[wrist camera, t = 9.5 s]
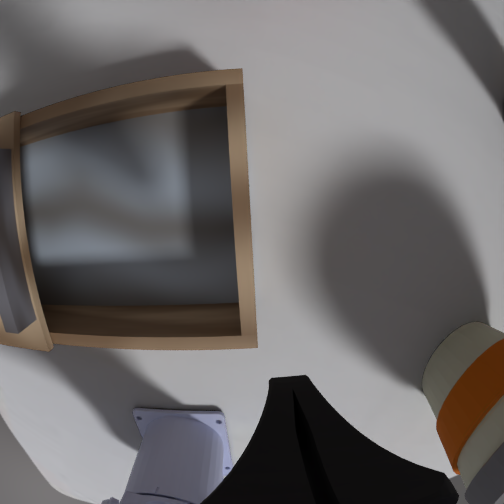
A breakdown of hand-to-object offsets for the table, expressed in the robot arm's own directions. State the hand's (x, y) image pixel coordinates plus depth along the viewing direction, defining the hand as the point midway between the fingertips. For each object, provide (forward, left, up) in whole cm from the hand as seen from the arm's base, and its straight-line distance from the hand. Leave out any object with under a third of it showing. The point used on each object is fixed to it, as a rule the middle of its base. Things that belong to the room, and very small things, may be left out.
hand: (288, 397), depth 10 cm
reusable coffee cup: (-9, -18, -11) cm, 23 cm away
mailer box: (+6, +11, -10) cm, 16 cm away
